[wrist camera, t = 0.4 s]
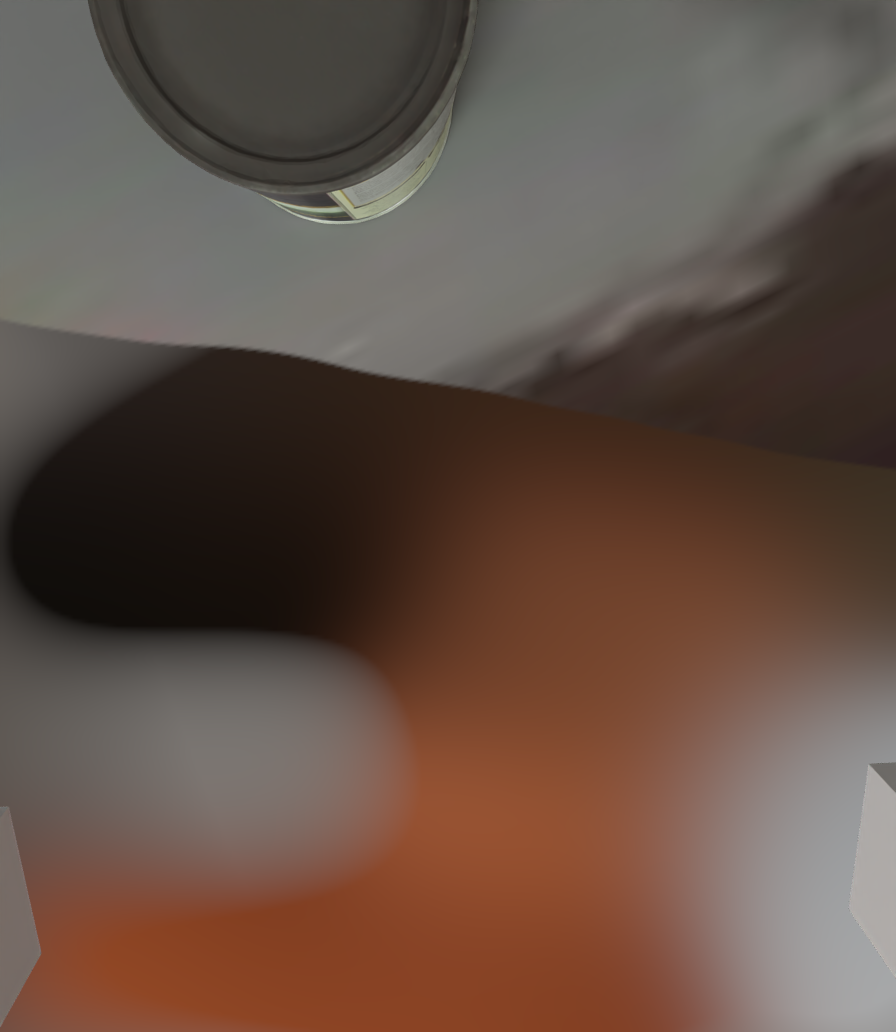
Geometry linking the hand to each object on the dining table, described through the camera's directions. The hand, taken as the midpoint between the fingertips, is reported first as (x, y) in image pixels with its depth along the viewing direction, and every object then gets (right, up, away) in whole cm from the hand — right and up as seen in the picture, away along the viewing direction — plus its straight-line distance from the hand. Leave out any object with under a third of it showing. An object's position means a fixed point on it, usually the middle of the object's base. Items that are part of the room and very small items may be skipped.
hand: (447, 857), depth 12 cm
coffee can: (-5, +23, +22) cm, 32 cm away
